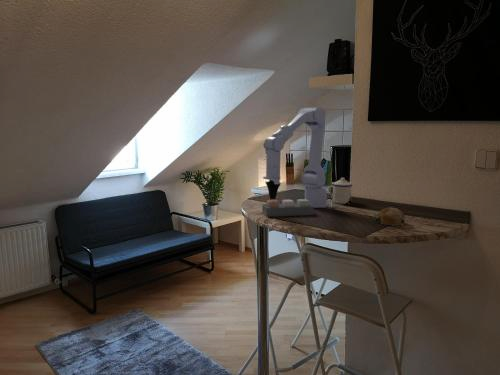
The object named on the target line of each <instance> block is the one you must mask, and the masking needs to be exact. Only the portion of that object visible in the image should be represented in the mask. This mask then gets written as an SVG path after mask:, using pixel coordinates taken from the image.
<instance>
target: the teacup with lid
mask: <svg viewBox="0 0 500 375" xmlns="http://www.w3.org/2000/svg"><path fill="white" fill-rule="evenodd" d="M351 183H352V182H349V181H348V180H346V179H345V177H341V178H340V179H339V180H337V181H334V182H333V183H332V185H330V186H328V188H327V190H328V191H327V192H328V194H329V195H330V196H331V197H332V203H335V204H339V205H340V204H341V205H346V203H347V202H348V201H349V199H350V197H351V198H352V192H351V188H352V189H353V187H352V186H353V184H351ZM331 189H332V191H331Z"/></svg>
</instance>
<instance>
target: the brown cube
mask: <svg viewBox="0 0 500 375" xmlns="http://www.w3.org/2000/svg"><path fill="white" fill-rule="evenodd" d="M266 204H267V206H268V207H278V204H279V200H277V199H268V200H267V199H266Z"/></svg>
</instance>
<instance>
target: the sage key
mask: <svg viewBox="0 0 500 375" xmlns="http://www.w3.org/2000/svg"><path fill="white" fill-rule="evenodd" d="M296 203H297V205H298V206H309V201H308V200H307V199H305V198H302V199H301V198H299V199H296Z"/></svg>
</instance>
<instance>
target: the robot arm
mask: <svg viewBox="0 0 500 375" xmlns="http://www.w3.org/2000/svg"><path fill="white" fill-rule="evenodd" d="M326 115H327V114H326V111H325V110H324V108H323V107H321V106H318V107H302V108H301V109H300V110H299V111H298V112H297V115H296V116H295V117H294V118H293V119H292V120H291V121H290V122H289V123H288V124H287V125H286V124H284V125H280V127H279V129H278V130H277V131H276V132H273V134H272V136H268V137H266V139H265V140H264V142H263V144H262V145H263V148H264V149H265V150H264V151H265V154H266V157H265V158H266V160H265V162H266V163H265V164H266V165H265V169H266V170H265V176H263V177H262V178H263V180H269V181H265V185H266V187H267V190H268V195H269V200H277V199H276V198H277V193H278V190H279V188H280V187H281V182H280V181H281V151H282V150H284V147H285V145H286V142H288V141H289V140H290V139H292V137H293V135H294V131H296V130H297V129H298V128H300V126H302V125H303V124H305V125H306V126H308V127H309V128H310V129H311V136H310V144H309V145H310V146H309V154H308V164H307V165H306V166H305V167H304V168H303V173H302V174H301V183H302V185H303V186H304V199H307V200H308V201H309V204H311V205H312V206H314V209H315V208H316V209H317V208H327V207H328V206H327V199H328V196H327V194H328V191H327V188H326V187H325V186H324V185H325V183H326V175H325V174H326V171H325V169H324V168H323V167H322V166H321V165H322V164H321V163H322V157H323V156H322V155H323V148H324V146H323V145H324V135H325V126H326V123H325V122H326Z"/></svg>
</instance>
